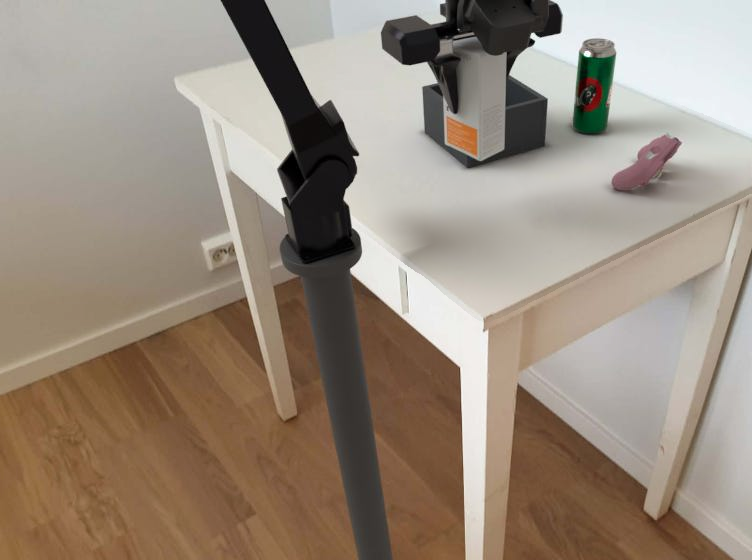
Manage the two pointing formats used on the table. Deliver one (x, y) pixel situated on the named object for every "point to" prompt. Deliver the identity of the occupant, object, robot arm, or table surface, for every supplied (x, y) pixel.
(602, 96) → the soda can
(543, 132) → the dark grey open bin
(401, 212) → the table surface
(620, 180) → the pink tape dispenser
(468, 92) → the cosmetic box
